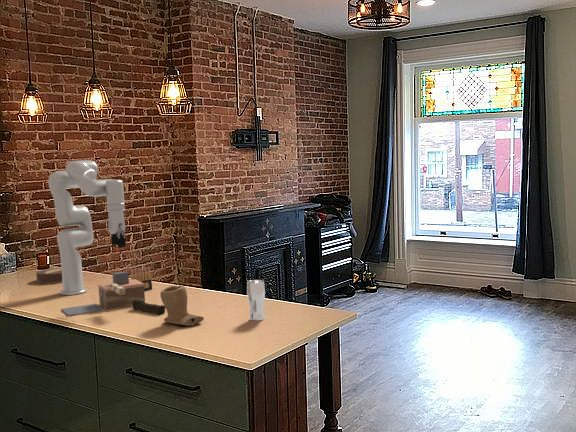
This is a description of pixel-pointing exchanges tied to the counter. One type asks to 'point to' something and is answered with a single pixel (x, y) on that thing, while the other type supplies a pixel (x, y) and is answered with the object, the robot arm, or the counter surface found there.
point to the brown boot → (178, 306)
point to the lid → (121, 281)
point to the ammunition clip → (143, 277)
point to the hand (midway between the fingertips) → (118, 246)
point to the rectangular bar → (117, 289)
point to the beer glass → (256, 299)
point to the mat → (82, 309)
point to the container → (49, 276)
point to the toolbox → (121, 297)
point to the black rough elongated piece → (148, 307)
